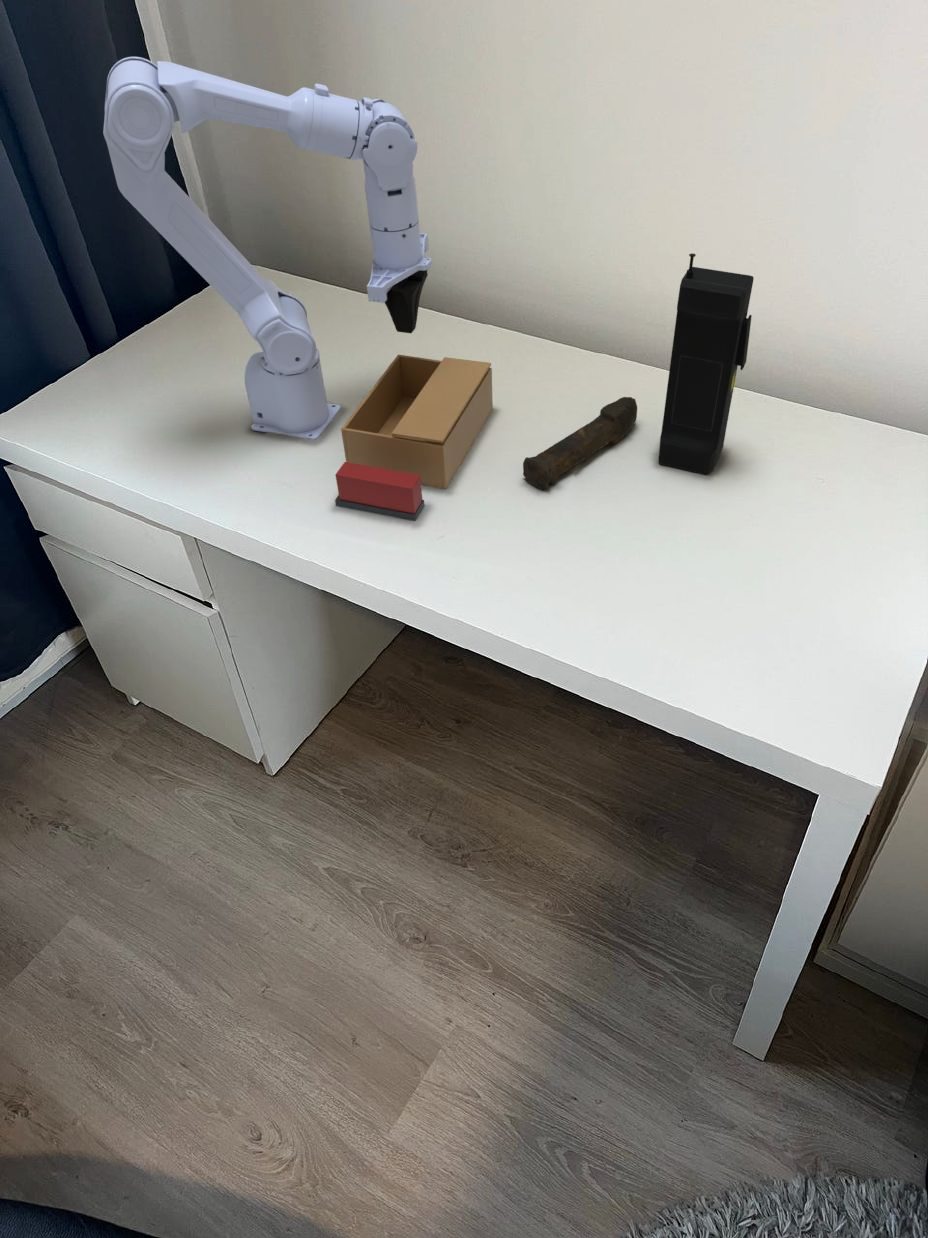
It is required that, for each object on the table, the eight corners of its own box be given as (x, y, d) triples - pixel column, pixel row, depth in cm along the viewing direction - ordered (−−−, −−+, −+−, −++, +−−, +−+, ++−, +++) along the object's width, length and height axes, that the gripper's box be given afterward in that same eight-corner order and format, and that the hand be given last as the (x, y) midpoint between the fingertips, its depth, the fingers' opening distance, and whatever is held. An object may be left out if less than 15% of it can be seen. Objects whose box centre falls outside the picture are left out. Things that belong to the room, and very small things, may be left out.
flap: (444, 359, 120) (444, 356, 120) (491, 365, 118) (491, 362, 118) (391, 435, 108) (391, 433, 108) (442, 443, 107) (442, 440, 106)
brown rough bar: (544, 496, 110) (545, 464, 107) (520, 481, 112) (521, 449, 109) (651, 432, 118) (655, 400, 115) (627, 419, 121) (631, 387, 117)
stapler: (336, 508, 110) (330, 474, 107) (346, 492, 112) (341, 459, 109) (415, 523, 107) (412, 489, 104) (424, 507, 109) (421, 474, 106)
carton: (402, 397, 126) (398, 354, 122) (492, 411, 123) (491, 367, 118) (347, 473, 115) (340, 429, 110) (446, 491, 111) (443, 446, 107)
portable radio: (731, 450, 115) (770, 249, 97) (719, 478, 111) (757, 273, 93) (668, 437, 117) (695, 238, 100) (654, 463, 114) (680, 261, 96)
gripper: (402, 251, 103) (414, 362, 112) (448, 199, 112) (455, 305, 122) (344, 245, 105) (360, 355, 114) (393, 194, 114) (405, 300, 124)
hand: (406, 329), depth 118 cm, fingers closed
